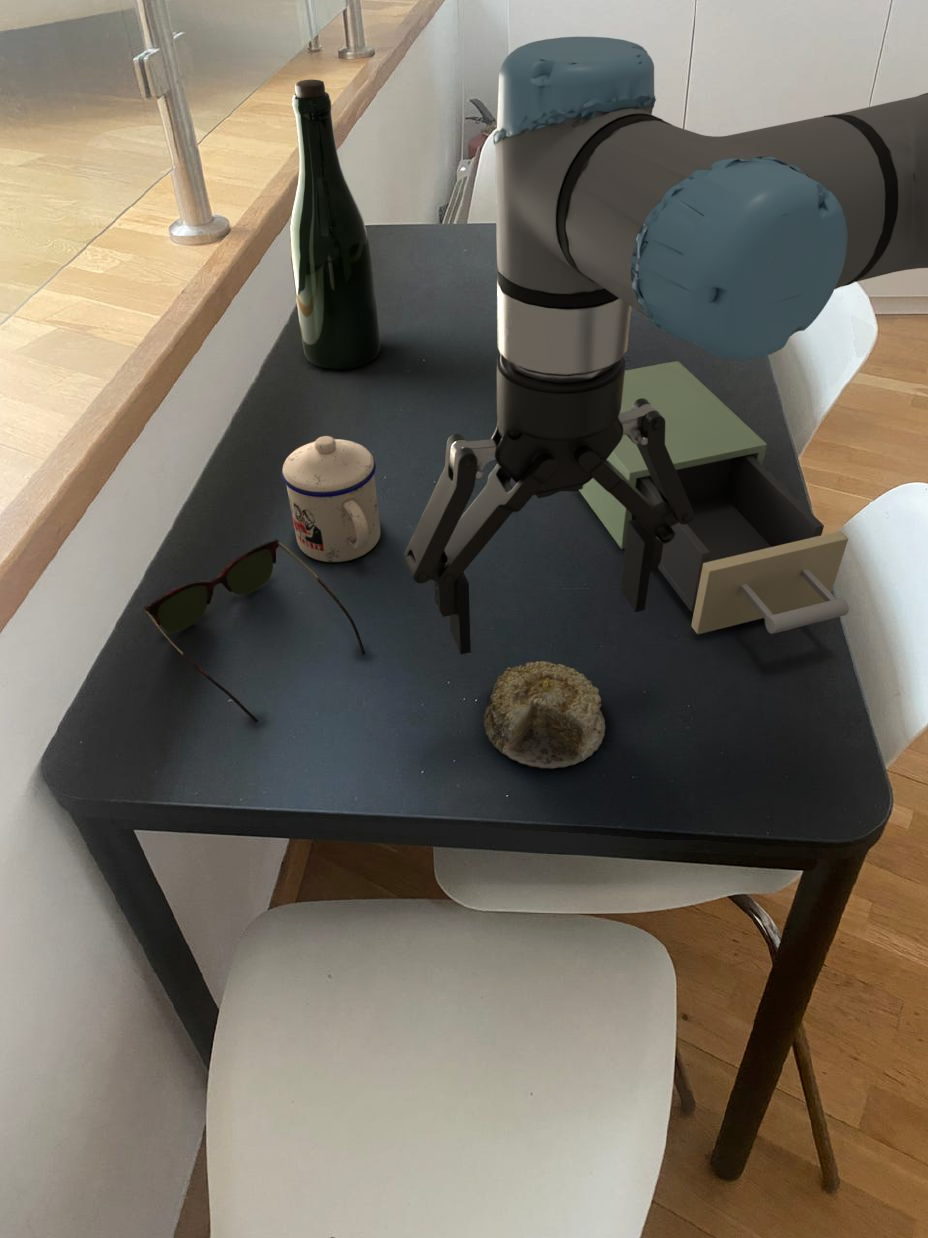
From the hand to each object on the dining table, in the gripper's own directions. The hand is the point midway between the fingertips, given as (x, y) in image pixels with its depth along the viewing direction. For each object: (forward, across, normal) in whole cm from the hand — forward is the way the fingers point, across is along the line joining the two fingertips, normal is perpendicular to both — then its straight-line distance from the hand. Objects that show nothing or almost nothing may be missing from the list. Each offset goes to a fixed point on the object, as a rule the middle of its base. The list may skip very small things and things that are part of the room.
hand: (547, 620), depth 68 cm
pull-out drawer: (+11, -23, -10) cm, 27 cm away
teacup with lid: (+12, +10, -29) cm, 33 cm away
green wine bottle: (+12, +2, -71) cm, 72 cm away
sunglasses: (+12, +20, -17) cm, 29 cm away
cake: (+12, 0, 0) cm, 12 cm away
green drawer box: (+12, -23, -28) cm, 38 cm away
